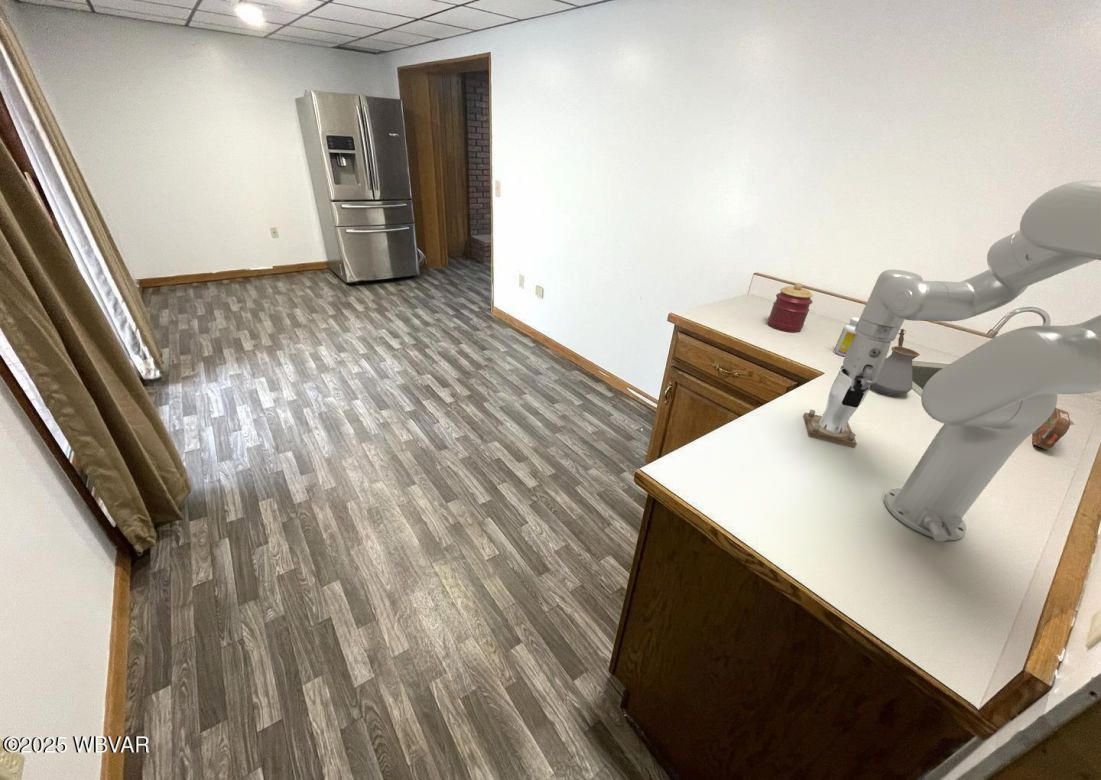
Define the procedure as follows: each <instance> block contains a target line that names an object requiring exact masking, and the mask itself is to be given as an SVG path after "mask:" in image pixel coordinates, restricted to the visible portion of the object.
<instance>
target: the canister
mask: <svg viewBox="0 0 1101 780" xmlns="http://www.w3.org/2000/svg"><path fill="white" fill-rule="evenodd" d="M779 291H780V292H779V293H778V292H777V293H776V294H775V296H776V299H775V300H774V301H773V303H772V304H773V305H772V307H771V311H770V314H769V315H768V319H767V325H768V326H769V327H771V328H773V329H775V330H778V331H782V332H786V333H799V332H800V331H801V332H802V329H803V328H804V323H805V321H806V319H807V317H808V313H809V312H810V306H811V305H812V304H813V299H811V298H812V297H813V294H812V293H811V292H810V290H808V289H807V288H805V287H804V288H803V284H802V283H795V285H794V286H793V285H788V286H785V287H782V288H780V290H779Z"/></svg>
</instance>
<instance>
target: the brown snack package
mask: <svg viewBox="0 0 1101 780" xmlns="http://www.w3.org/2000/svg"><path fill="white" fill-rule="evenodd" d="M1070 426H1071V419H1070V413H1069V412H1068V411H1066V410H1063V409H1061V408H1058V407H1057V406H1056V407H1055V410H1054V411H1053V413H1052V414H1051V416H1050V417H1049V418H1048V419H1047V420H1046V421H1045V422H1044V423H1043V424H1042V425H1041V426H1040V427H1039V428H1038V429H1037V430H1036V431H1034V432H1033V433H1032V434H1031V435H1032V437H1031V438H1032V439H1031V440H1032V445H1033V446H1036V447H1038V448H1041V449H1045V450H1050V449H1052V448H1053V447H1054V446H1055V445H1056V443H1057V442H1058V441H1059V440H1061V438H1063V437H1064V436H1065V435H1066V434H1067V432H1068V431H1069V428H1070Z"/></svg>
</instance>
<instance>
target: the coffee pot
mask: <svg viewBox="0 0 1101 780" xmlns="http://www.w3.org/2000/svg"><path fill="white" fill-rule="evenodd" d="M899 331H900V332H898V334H897V335H899V337H898V342H897V343H898V345H896V346H892V347H890V348H891V354H890V355H888V356H887V357H886V359H885V361H884V364H883V366H882V368H881V371H880V373H879V375H878V377H877V379H876V381H875V382H874V383H871V385H870V388H871V389H872V390H874V391H876V392H878V393H881V394H883V395H887V396H891V397H892V396H893V397H896V396H900V395H905V394H907V393H909V392H910V391H912V390H913V360H914V359H916V358H917V357H919V356H920V355H921V354H920V353H918V352H917V351H915V350H914V349H911V348H907V347H903V344H904V340H905V337H904V335H905V334H906V333H907V331H906V330H905V329H904V328H900V330H899Z"/></svg>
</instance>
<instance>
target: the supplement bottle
mask: <svg viewBox="0 0 1101 780" xmlns="http://www.w3.org/2000/svg"><path fill="white" fill-rule="evenodd" d="M859 319H860V317H855V316H853V317H851V318H850V320H849V324H845V325H844V326H843V329H842V330H841V332H840V335H839V337H838V339H837V341H836V344H835V346H834V349H833V352H834V353H835V354H837V355H838V356H841V357H844V358H845V355H846V353H847V351H848V348H849V346H850V344H851V343H852V341H853V339H854V337H855V335H856V332H855V331H854V330H855V328H856V326H857V323H858V321H859Z"/></svg>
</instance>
